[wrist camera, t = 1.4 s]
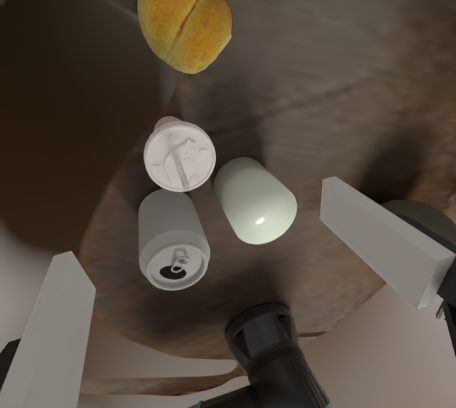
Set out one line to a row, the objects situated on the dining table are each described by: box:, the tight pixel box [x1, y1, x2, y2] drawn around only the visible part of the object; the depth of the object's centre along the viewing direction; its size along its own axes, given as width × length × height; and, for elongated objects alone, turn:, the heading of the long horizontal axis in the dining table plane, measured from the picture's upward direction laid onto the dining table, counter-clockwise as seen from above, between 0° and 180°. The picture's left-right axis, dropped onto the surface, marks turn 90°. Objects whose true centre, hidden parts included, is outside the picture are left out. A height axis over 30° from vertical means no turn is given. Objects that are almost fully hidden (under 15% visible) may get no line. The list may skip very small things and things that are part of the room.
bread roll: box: [137, 0, 232, 74], centre depth 24 cm, size 8×9×4 cm
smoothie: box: [144, 116, 216, 192], centre depth 25 cm, size 6×6×14 cm
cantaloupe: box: [380, 200, 456, 245], centre depth 44 cm, size 14×14×15 cm
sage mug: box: [213, 157, 297, 244], centre depth 34 cm, size 10×8×9 cm
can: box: [138, 189, 210, 291], centre depth 31 cm, size 8×8×12 cm
